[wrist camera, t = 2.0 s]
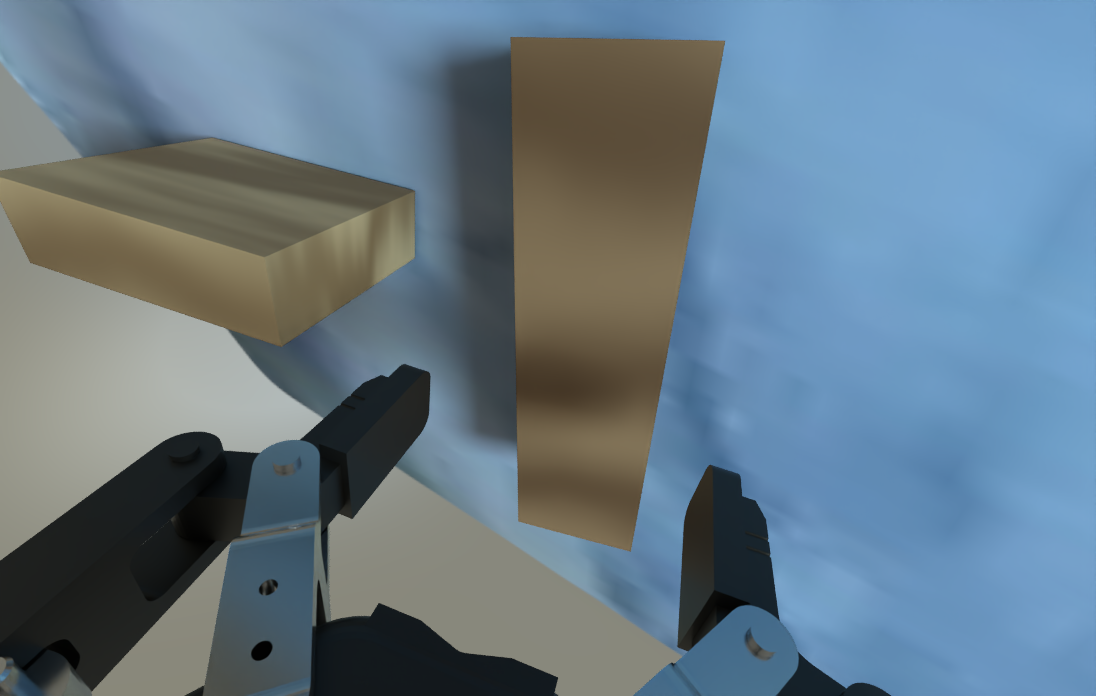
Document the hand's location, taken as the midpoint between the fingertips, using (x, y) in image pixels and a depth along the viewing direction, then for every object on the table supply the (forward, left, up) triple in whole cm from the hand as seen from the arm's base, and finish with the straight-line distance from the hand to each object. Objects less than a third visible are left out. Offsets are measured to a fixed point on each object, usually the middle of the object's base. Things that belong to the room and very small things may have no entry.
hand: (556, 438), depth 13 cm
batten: (0, 0, -8) cm, 8 cm away
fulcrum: (-1, -14, -8) cm, 16 cm away
